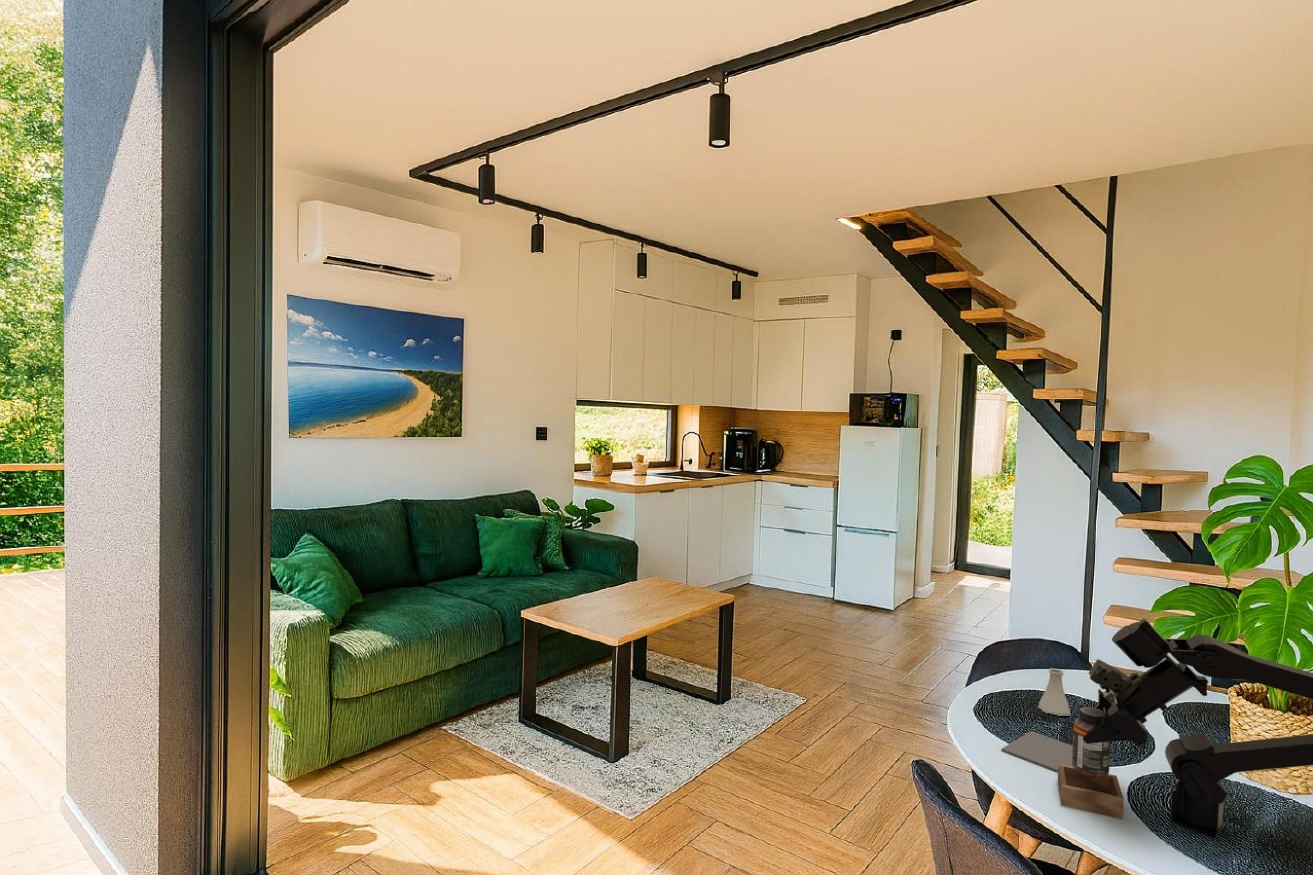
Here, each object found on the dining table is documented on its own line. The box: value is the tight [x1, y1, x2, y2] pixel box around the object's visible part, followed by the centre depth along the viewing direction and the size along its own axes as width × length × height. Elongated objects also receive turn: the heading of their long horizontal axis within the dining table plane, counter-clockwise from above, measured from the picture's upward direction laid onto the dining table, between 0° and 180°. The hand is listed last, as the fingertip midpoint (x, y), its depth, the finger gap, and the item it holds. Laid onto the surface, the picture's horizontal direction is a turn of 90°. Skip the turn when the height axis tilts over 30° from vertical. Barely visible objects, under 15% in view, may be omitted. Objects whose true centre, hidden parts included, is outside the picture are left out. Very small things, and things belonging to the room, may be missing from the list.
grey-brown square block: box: [1000, 731, 1073, 774], centre depth 153 cm, size 14×14×1 cm
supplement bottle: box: [1072, 706, 1111, 778], centre depth 135 cm, size 6×6×11 cm
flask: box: [1037, 668, 1071, 717], centre depth 175 cm, size 7×7×10 cm
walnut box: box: [1057, 764, 1125, 820], centre depth 135 cm, size 10×10×4 cm
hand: (1082, 734), depth 136 cm, fingers closed on supplement bottle, 6 cm apart
